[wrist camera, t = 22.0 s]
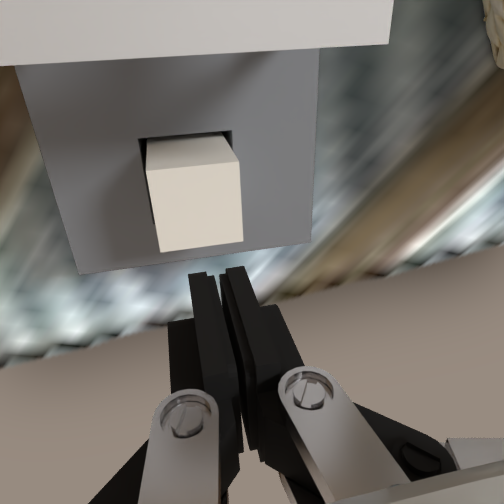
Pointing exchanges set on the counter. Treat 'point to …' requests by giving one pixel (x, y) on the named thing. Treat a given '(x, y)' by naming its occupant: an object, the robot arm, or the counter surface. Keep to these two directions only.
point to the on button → (194, 190)
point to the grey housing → (176, 107)
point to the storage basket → (495, 28)
